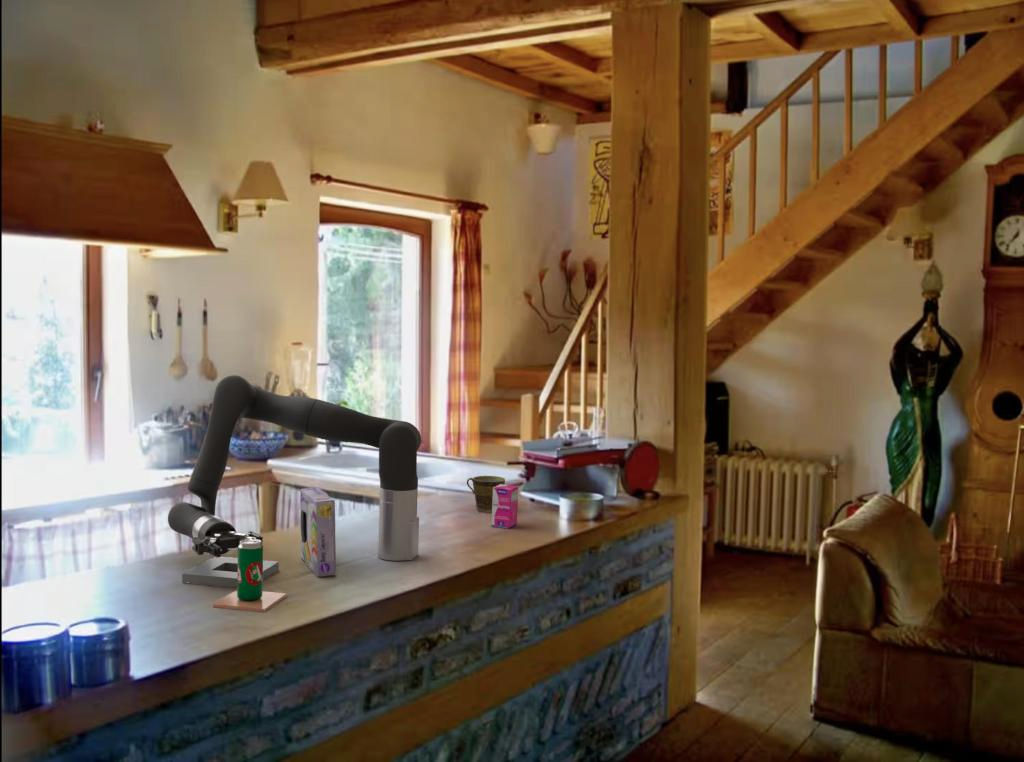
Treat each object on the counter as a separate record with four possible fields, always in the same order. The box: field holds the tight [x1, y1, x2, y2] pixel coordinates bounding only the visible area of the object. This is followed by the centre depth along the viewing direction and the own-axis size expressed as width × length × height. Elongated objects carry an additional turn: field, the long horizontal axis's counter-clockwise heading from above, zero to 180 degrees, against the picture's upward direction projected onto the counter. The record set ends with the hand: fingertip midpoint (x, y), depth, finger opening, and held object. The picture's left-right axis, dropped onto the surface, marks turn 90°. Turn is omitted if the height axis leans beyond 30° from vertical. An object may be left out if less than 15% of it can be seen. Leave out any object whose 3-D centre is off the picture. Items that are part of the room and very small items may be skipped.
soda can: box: [236, 539, 264, 601], centre depth 204 cm, size 5×5×12 cm
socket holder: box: [181, 556, 280, 588], centre depth 222 cm, size 16×16×2 cm
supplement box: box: [491, 484, 519, 530], centre depth 282 cm, size 6×6×12 cm
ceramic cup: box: [466, 475, 506, 514], centre depth 302 cm, size 13×10×10 cm
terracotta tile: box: [212, 589, 288, 613], centre depth 204 cm, size 11×11×1 cm
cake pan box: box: [299, 486, 337, 578], centre depth 232 cm, size 19×5×18 cm, turn 23°
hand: (238, 550), depth 210 cm, fingers open, 8 cm apart
